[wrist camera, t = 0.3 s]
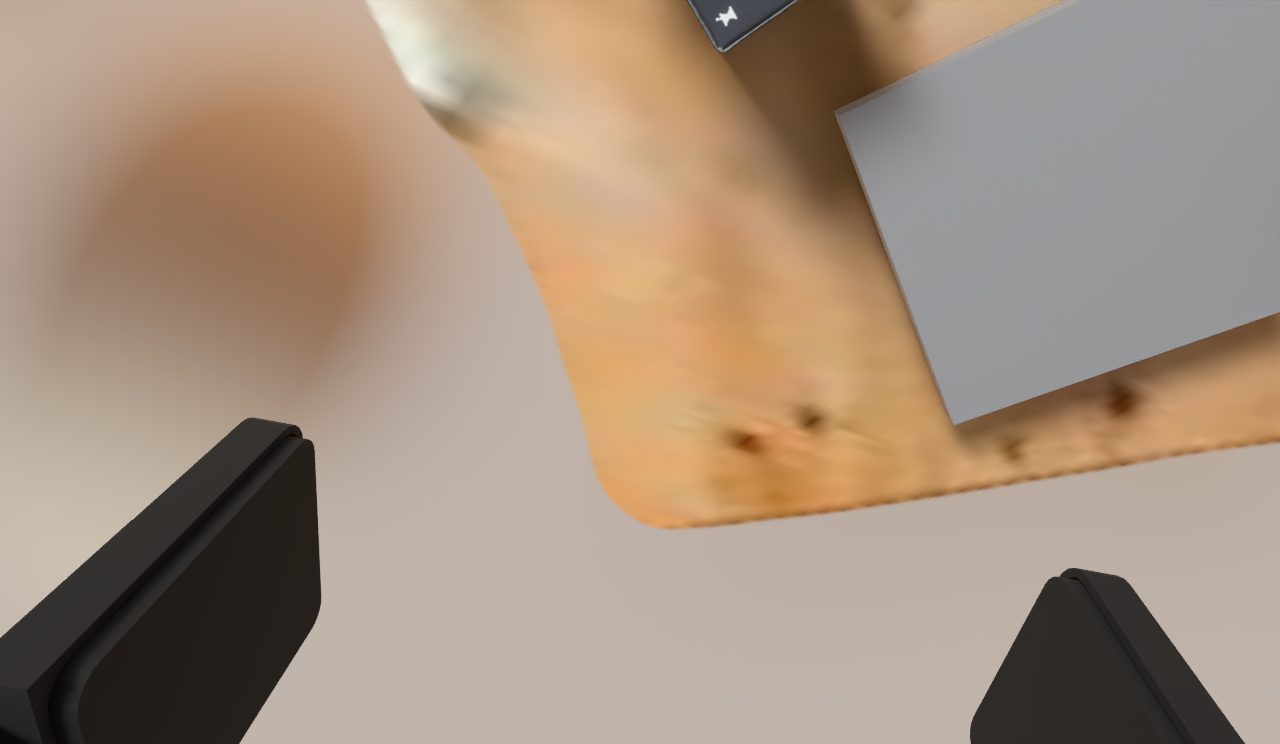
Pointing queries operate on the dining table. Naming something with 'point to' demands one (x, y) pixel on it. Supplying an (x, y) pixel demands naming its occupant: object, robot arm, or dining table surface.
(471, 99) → the dining table surface
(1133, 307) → the stand
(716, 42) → the small box
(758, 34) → the dining table surface
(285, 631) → the robot arm
